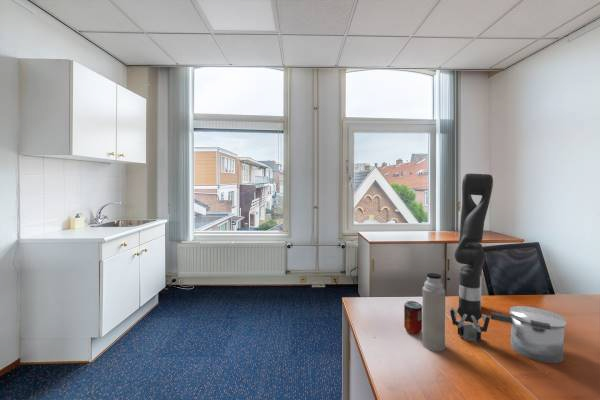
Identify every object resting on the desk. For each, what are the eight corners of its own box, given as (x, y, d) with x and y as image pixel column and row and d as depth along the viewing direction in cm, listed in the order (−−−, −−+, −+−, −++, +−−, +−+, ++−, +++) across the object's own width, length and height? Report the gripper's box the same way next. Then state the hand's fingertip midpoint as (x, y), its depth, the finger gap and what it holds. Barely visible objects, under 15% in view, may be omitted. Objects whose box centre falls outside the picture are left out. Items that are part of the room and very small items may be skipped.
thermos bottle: (421, 338, 114) (421, 270, 113) (443, 341, 111) (443, 272, 110) (423, 349, 106) (423, 276, 105) (446, 353, 104) (447, 278, 103)
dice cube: (478, 341, 111) (478, 329, 111) (463, 340, 113) (464, 327, 112) (474, 335, 116) (474, 323, 116) (460, 333, 117) (460, 322, 117)
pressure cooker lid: (511, 322, 100) (511, 318, 100) (508, 306, 115) (508, 303, 115) (572, 335, 91) (572, 330, 91) (560, 316, 106) (561, 312, 106)
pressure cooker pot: (490, 348, 106) (491, 317, 106) (490, 330, 120) (490, 302, 120) (567, 368, 94) (568, 333, 94) (557, 345, 108) (558, 315, 108)
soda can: (424, 330, 120) (424, 302, 120) (418, 337, 115) (418, 308, 114) (407, 325, 125) (407, 298, 124) (401, 332, 119) (401, 303, 119)
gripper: (448, 295, 114) (448, 336, 114) (491, 303, 106) (490, 347, 106) (450, 290, 120) (450, 329, 120) (491, 297, 112) (490, 338, 112)
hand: (469, 337), depth 113 cm, fingers closed on dice cube, 5 cm apart
